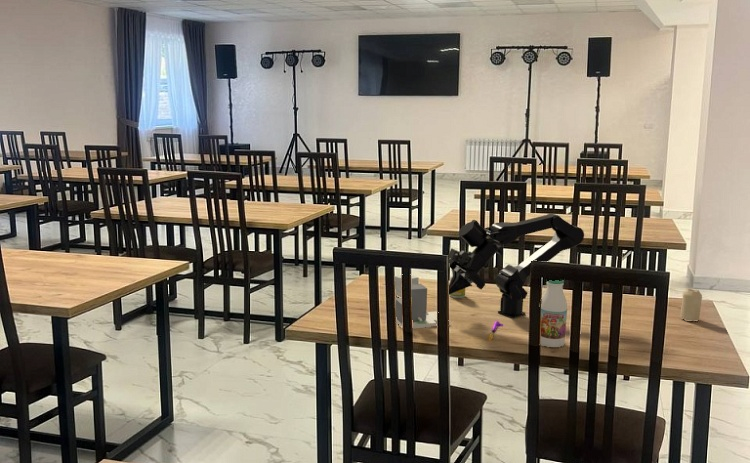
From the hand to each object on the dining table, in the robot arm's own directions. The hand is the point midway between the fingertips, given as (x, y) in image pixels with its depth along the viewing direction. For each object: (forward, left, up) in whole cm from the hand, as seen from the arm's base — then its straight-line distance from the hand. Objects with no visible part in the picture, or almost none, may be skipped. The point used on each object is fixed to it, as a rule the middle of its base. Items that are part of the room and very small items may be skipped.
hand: (447, 293), depth 217 cm
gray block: (+4, +10, -7) cm, 13 cm away
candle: (-47, -63, -9) cm, 79 cm away
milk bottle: (-33, -9, -9) cm, 35 cm away
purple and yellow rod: (-17, -4, -9) cm, 20 cm away
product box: (+25, -6, -9) cm, 27 cm away
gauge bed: (+3, +8, -8) cm, 12 cm away
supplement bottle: (+15, -21, -9) cm, 27 cm away
